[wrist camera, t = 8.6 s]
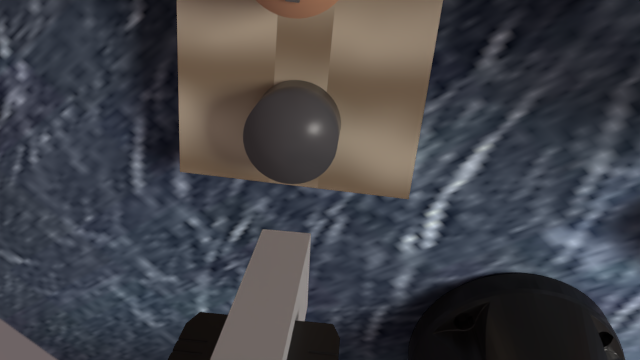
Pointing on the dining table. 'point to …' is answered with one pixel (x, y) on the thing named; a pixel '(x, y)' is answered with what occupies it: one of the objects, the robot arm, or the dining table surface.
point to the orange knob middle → (297, 7)
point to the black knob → (293, 132)
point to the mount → (312, 66)
